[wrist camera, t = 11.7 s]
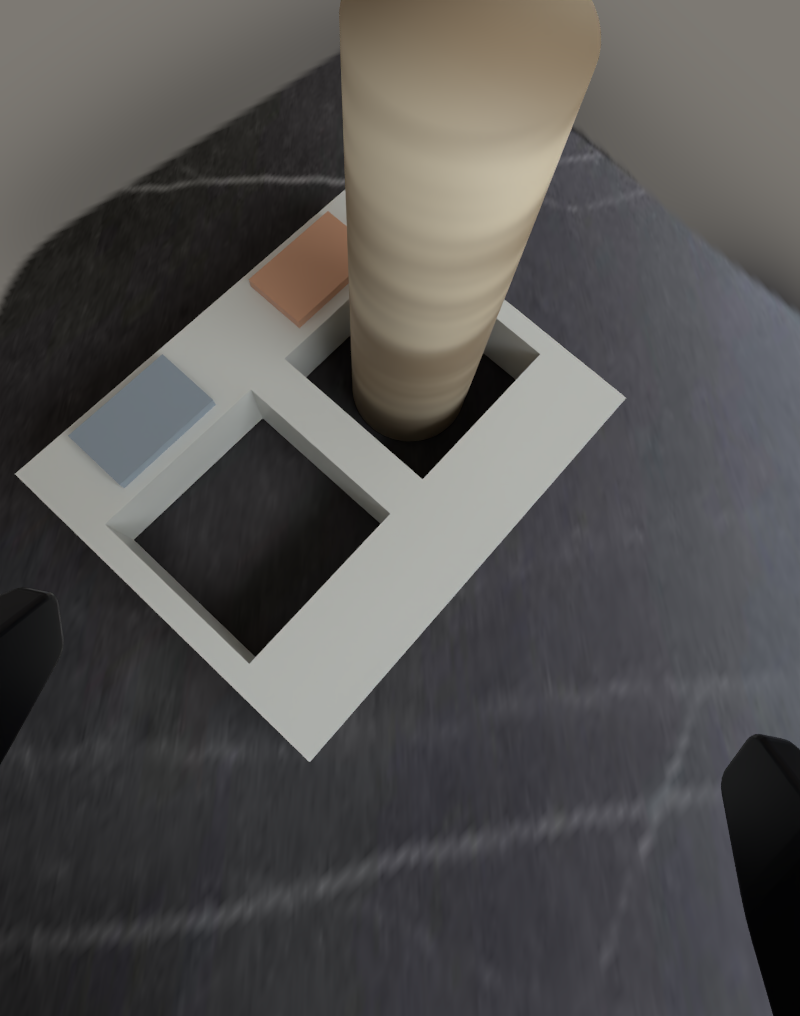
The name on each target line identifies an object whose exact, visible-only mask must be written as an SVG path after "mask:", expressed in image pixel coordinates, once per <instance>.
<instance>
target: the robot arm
mask: <svg viewBox="0 0 800 1016" xmlns="http://www.w3.org/2000/svg"><path fill="white" fill-rule="evenodd" d="M62 648H63V634H62V627H61V620H60V613H59V605H58V601H57V598H56V597H55V596H54V594H52V593H50V592H45V591H40V590H35V589H30V588H17V589H14V590H11V591H9V592H7V593H4V594H2V595H0V764H1V762H2V761H3V759H4V757H5V756H6V754H7V752H8V750H9V749H10V747H11V745H12V743H13V741H14V740H15V738H16V736H17V734H18V732H19V730H20V729H21V727H22V725H23V723H24V721H25V720H26V718H27V716H28V714H29V712H30V711H31V709H32V707H33V705H34V703H35V702H36V700H37V698H38V696H39V694H40V693H41V691H42V689H43V687H44V685H45V684H46V682H47V680H48V678H49V676H50V675H51V673H52V671H53V669H54V667H55V666H56V664H57V662H58V660H59V658H60V655H61V653H62ZM721 791H722V797H723V803H724V808H725V813H726V819H727V824H728V829H729V835H730V840H731V845H732V851H733V856H734V862H735V867H736V872H737V878H738V883H739V888H740V894H741V898H742V903H743V907H744V912H745V917H746V920H747V924H748V928H749V932H750V936H751V940H752V943H753V947H754V950H755V953H756V957H757V960H758V964H759V967H760V971H761V974H762V978H763V981H764V985H765V988H766V992H767V995H768V999H769V1002H770V1006H771V1009H772V1013H773V1016H800V749H799V748H797V747H796V746H795V745H794V744H793V743H791V742H790V741H788V740H785V739H782V738H777V737H772V736H767V735H762V734H755V735H753V736H751V737H749V738H748V739H747V740H746V742H745V743H744V745H743V746H742V747H741V749H740V750H739V752H738V753H737V754H736V756H735V757H734V758H733V760H732V761H731V763H730V764H729V765H728V767H727V768H726V770H725V771H724V774H723V777H722V782H721Z"/></svg>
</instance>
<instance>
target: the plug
mask: <svg viewBox="0 0 800 1016" xmlns="http://www.w3.org/2000/svg"><path fill="white" fill-rule="evenodd" d="M339 15H340V16H339V21H340V51H341V79H342V107H343V135H344V163H345V191H346V219H347V248H348V276H349V304H350V332H351V360H352V388H353V398H354V402H355V405H356V407H357V410H358V412H359V413H360V415H361V416H362V418H363V419H364V420H365V422H366V423H367V424H368V425H369V426H370V427H371V428H373V429H374V430H375V431H377V432H378V433H380V434H382V435H384V436H386V437H389V438H391V439H395V440H399V441H407V442H411V441H422V440H426V439H429V438H432V437H434V436H436V435H438V434H440V433H442V432H443V431H444V430H446V429H447V428H448V427H449V426H450V425H451V424H452V423H453V422H454V420H455V419H456V418H457V416H458V414H459V412H460V410H461V408H462V405H463V403H464V400H465V398H466V395H467V393H468V390H469V387H470V385H471V382H472V380H473V377H474V375H475V372H476V370H477V367H478V365H479V362H480V360H481V357H482V354H483V352H484V349H485V347H486V344H487V342H488V339H489V337H490V334H491V332H492V329H493V326H494V324H495V321H496V319H497V316H498V314H499V311H500V309H501V306H502V304H503V301H504V299H505V296H506V293H507V291H508V288H509V286H510V283H511V281H512V278H513V276H514V273H515V271H516V268H517V266H518V263H519V260H520V258H521V255H522V253H523V250H524V248H525V245H526V243H527V240H528V238H529V235H530V233H531V230H532V227H533V225H534V222H535V220H536V217H537V215H538V212H539V210H540V207H541V205H542V202H543V199H544V197H545V194H546V192H547V189H548V187H549V184H550V182H551V179H552V177H553V174H554V172H555V169H556V166H557V164H558V161H559V159H560V156H561V154H562V151H563V149H564V146H565V144H566V141H567V139H568V136H569V133H570V131H571V128H572V126H573V123H574V121H575V118H576V116H577V113H578V111H579V108H580V105H581V103H582V100H583V98H584V95H585V93H586V90H587V88H588V85H589V82H590V80H591V77H592V75H593V72H594V70H595V67H596V64H597V62H598V59H599V53H600V48H601V30H600V23H599V18H598V15H597V12H596V9H595V6H594V4H593V2H592V0H341V3H340V10H339Z"/></svg>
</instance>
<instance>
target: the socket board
mask: <svg viewBox="0 0 800 1016" xmlns="http://www.w3.org/2000/svg"><path fill="white" fill-rule="evenodd" d="M350 335H351V332H350V304H349V276H348V248H347V219H346V191H345V190H344V191H343V192H342V193H340V194H339V195H338V196H337V197H336V198H335V199H334V200H332V201H331V202H330V203H329V204H328V205H327V206H325V207H324V208H323V209H322V210H321V211H320V212H318V213H317V214H316V215H315V216H314V217H313V218H311V219H310V220H309V221H308V222H307V223H306V224H304V225H303V226H302V227H301V228H300V229H299V230H298V231H296V232H295V233H294V234H293V235H292V236H291V237H289V238H288V239H287V240H286V241H285V242H284V243H282V244H281V245H280V246H279V247H278V248H277V249H275V250H274V251H273V252H272V253H271V254H270V255H269V256H267V257H266V258H265V259H264V260H263V261H262V262H260V263H259V264H258V265H257V266H256V267H255V268H253V269H252V270H251V271H250V272H249V273H248V274H246V275H245V276H244V277H243V278H242V279H241V280H239V281H238V282H237V283H236V284H235V285H234V286H233V287H231V288H230V289H229V290H228V291H227V292H226V293H224V294H223V295H222V296H221V297H220V298H219V299H217V300H216V301H215V302H214V303H213V304H212V305H210V306H209V307H208V308H207V309H206V310H205V311H204V312H202V313H201V314H200V315H199V316H198V317H197V318H195V319H194V320H193V321H192V322H191V323H190V324H188V325H187V326H186V327H185V328H184V329H183V330H181V331H180V332H179V333H178V334H177V335H176V336H174V337H173V338H172V339H171V340H170V341H169V342H168V343H166V344H165V345H164V346H163V347H162V348H161V349H159V350H158V351H157V352H156V353H155V354H154V355H152V356H151V357H150V358H149V359H148V360H147V361H145V362H144V363H143V364H142V365H141V366H140V367H138V368H137V369H136V370H135V371H134V372H133V373H132V374H130V375H129V376H128V377H127V378H126V379H125V380H123V381H122V382H121V383H120V384H119V385H118V386H116V387H115V388H114V389H113V390H112V391H111V392H109V393H108V394H107V395H106V396H105V397H104V398H103V399H101V400H100V401H99V402H98V403H97V404H96V405H94V406H93V407H92V408H91V409H90V410H89V411H87V412H86V413H85V414H84V415H83V416H82V417H80V418H79V419H78V420H77V421H76V422H75V423H73V424H72V425H71V426H70V427H69V428H68V429H67V430H65V431H64V432H63V433H62V434H61V435H60V436H58V437H57V438H56V439H55V440H54V441H53V442H51V443H50V444H49V445H48V446H47V447H46V448H44V449H43V450H42V451H41V452H40V453H39V454H37V455H36V456H35V457H34V458H33V459H32V460H31V461H29V462H28V463H27V464H26V465H25V466H24V467H22V468H21V469H20V470H19V471H18V472H17V473H15V475H16V476H17V477H18V478H19V479H20V480H22V481H23V482H24V483H25V484H26V485H27V486H28V487H29V488H30V489H31V490H32V491H33V492H34V493H35V494H36V495H37V496H38V497H39V498H40V499H41V500H42V501H43V502H44V503H45V504H46V505H47V506H48V507H49V508H50V509H51V510H52V511H53V512H54V513H55V514H56V515H57V516H58V517H59V518H60V519H61V520H62V521H63V522H64V523H65V524H67V525H68V526H69V527H70V528H71V529H72V530H73V531H74V532H75V533H76V534H77V535H78V536H79V537H80V538H81V539H82V540H83V541H84V542H85V543H86V544H87V545H88V546H89V547H90V548H91V549H92V550H93V551H94V552H95V553H96V554H97V555H98V556H99V557H100V558H101V559H102V560H103V561H104V562H105V563H106V564H107V565H108V566H109V567H110V568H111V569H113V570H114V571H115V572H116V573H117V574H118V575H119V576H120V577H121V578H122V579H123V580H124V581H125V582H126V583H127V584H128V585H129V586H130V587H131V588H132V589H133V590H134V591H135V592H136V593H137V594H138V595H139V596H140V597H141V598H142V599H143V600H144V601H145V602H146V603H147V604H148V605H149V606H150V607H151V608H152V609H153V610H154V611H155V612H156V613H158V614H159V615H160V616H161V617H162V618H163V619H164V620H165V621H166V622H167V623H168V624H169V625H170V626H171V627H172V628H173V629H174V630H175V631H176V632H177V633H178V634H179V635H180V636H181V637H182V638H183V639H184V640H185V641H186V642H187V643H188V644H189V645H190V646H191V647H192V648H193V649H194V650H195V651H196V652H197V653H198V654H199V655H200V656H201V657H203V658H204V659H205V660H206V661H207V662H208V663H209V664H210V665H211V666H212V667H213V668H214V669H215V670H216V671H217V672H218V673H219V674H220V675H221V676H222V677H223V678H224V679H225V680H226V681H227V682H228V683H229V684H230V685H231V686H232V687H233V688H234V689H235V690H236V691H237V692H238V693H239V694H240V695H241V696H242V697H243V698H244V699H245V700H246V701H247V702H249V703H250V704H251V705H252V706H253V707H254V708H255V709H256V710H257V711H258V712H259V713H260V714H261V715H262V716H263V717H264V718H265V719H266V720H267V721H268V722H269V723H270V724H271V725H272V726H273V727H274V728H275V729H276V730H277V731H278V732H279V733H280V734H281V735H282V736H283V737H284V738H285V739H286V740H287V741H288V742H289V743H290V744H291V745H292V746H294V747H295V748H296V749H297V750H298V751H299V752H300V753H301V754H302V755H303V756H304V757H305V758H306V759H307V760H308V761H309V762H310V761H311V760H312V759H313V758H314V757H315V755H316V754H317V753H318V752H319V751H320V750H321V748H322V747H323V746H324V745H325V744H326V743H327V742H328V740H329V739H330V738H331V737H332V736H333V735H334V733H335V732H336V731H337V730H338V729H339V728H340V727H341V725H342V724H343V723H344V722H345V721H346V720H347V719H348V717H349V716H350V715H351V714H352V713H353V712H354V710H355V709H356V708H357V707H358V706H359V705H360V704H361V702H362V701H363V700H364V699H365V698H366V697H367V696H368V694H369V693H370V692H371V691H372V690H373V689H374V687H375V686H376V685H377V684H378V683H379V682H380V681H381V679H382V678H383V677H384V676H385V675H386V674H387V672H388V671H389V670H390V669H391V668H392V667H393V666H394V664H395V663H396V662H397V661H398V660H399V659H400V658H401V656H402V655H403V654H404V653H405V652H406V651H407V649H408V648H409V647H410V646H411V645H412V644H413V643H414V641H415V640H416V639H417V638H418V637H419V636H420V634H421V633H422V632H423V631H424V630H425V629H426V628H427V626H428V625H429V624H430V623H431V622H432V621H433V620H434V618H435V617H436V616H437V615H438V614H439V613H440V611H441V610H442V609H443V608H444V607H445V606H446V605H447V603H448V602H449V601H450V600H451V599H452V598H453V597H454V595H455V594H456V593H457V592H458V591H459V590H460V588H461V587H462V586H463V585H464V584H465V583H466V582H467V580H468V579H469V578H470V577H471V576H472V575H473V573H474V572H475V571H476V570H477V569H478V568H479V567H480V565H481V564H482V563H483V562H484V561H485V560H486V559H487V557H488V556H489V555H490V554H491V553H492V552H493V550H494V549H495V548H496V547H497V546H498V545H499V544H500V542H501V541H502V540H503V539H504V538H505V537H506V536H507V534H508V533H509V532H510V531H511V530H512V529H513V527H514V526H515V525H516V524H517V523H518V522H519V521H520V519H521V518H522V517H523V516H524V515H525V514H526V512H527V511H528V510H529V509H530V508H531V507H532V506H533V504H534V503H535V502H536V501H537V500H538V499H539V498H540V496H541V495H542V494H543V493H544V492H545V491H546V489H547V488H548V487H549V486H550V485H551V484H552V483H553V481H554V480H555V479H556V478H557V477H558V476H559V475H560V473H561V472H562V471H563V470H564V469H565V468H566V466H567V465H568V464H569V463H570V462H571V461H572V460H573V458H574V457H575V456H576V455H577V454H578V453H579V451H580V450H581V449H582V448H583V447H584V446H585V445H586V443H587V442H588V441H589V440H590V439H591V438H592V437H593V435H594V434H595V433H596V432H597V431H598V430H599V428H600V427H601V426H602V425H603V424H604V423H605V422H606V420H607V419H608V418H609V417H610V416H611V415H612V413H613V412H614V411H615V410H616V409H617V408H618V407H619V405H620V404H621V403H622V402H623V401H624V400H625V399H626V397H624V396H623V395H622V394H621V393H619V392H618V391H617V390H616V389H614V388H613V387H612V386H611V385H609V384H608V383H607V382H606V381H605V380H603V379H602V378H601V377H600V376H598V375H597V374H596V373H595V372H593V371H592V370H591V369H590V368H588V367H587V366H586V365H585V364H583V363H582V362H581V361H580V360H579V359H577V358H576V357H575V356H574V355H572V354H571V353H570V352H569V351H567V350H566V349H565V348H564V347H562V346H561V345H560V344H559V343H558V342H556V341H555V340H554V339H553V338H551V337H550V336H549V335H548V334H546V333H545V332H544V331H543V330H541V329H540V328H539V327H538V326H537V325H535V324H534V323H533V322H532V321H530V320H529V319H528V318H527V317H525V316H524V315H523V314H522V313H520V312H519V311H518V310H517V309H516V308H514V307H513V306H512V305H511V304H509V303H508V302H507V301H506V300H504V301H503V304H502V306H501V309H500V311H499V314H498V316H497V319H496V321H495V324H494V326H493V329H492V332H491V334H490V337H489V339H488V342H487V344H486V347H485V349H484V352H483V353H484V354H485V355H486V356H488V357H489V358H490V359H491V360H492V361H494V362H495V363H496V364H497V365H498V366H500V367H501V368H502V369H503V370H504V371H506V372H507V373H508V374H509V375H510V376H512V377H513V378H514V379H515V380H516V381H515V382H514V383H513V384H512V385H511V386H510V387H509V388H508V389H507V390H506V391H505V392H504V393H503V394H502V395H501V396H500V398H499V399H498V400H497V401H496V402H495V403H494V404H493V405H492V406H491V407H490V408H489V409H488V410H487V411H486V412H485V414H484V415H483V416H482V417H481V418H480V419H479V420H478V421H477V422H476V423H475V424H474V425H473V426H472V427H471V428H470V429H469V431H468V432H467V433H466V434H465V435H464V436H463V437H462V438H461V439H460V440H459V441H458V442H457V443H456V444H455V445H454V447H453V448H452V449H451V450H450V451H449V452H448V453H447V454H446V455H445V456H444V457H443V458H442V459H441V460H440V461H439V462H438V464H437V465H436V466H435V467H434V468H433V469H432V470H431V471H430V472H429V473H428V474H427V475H426V476H425V477H424V478H423V479H421V478H420V477H419V476H418V475H417V474H416V473H415V472H413V471H412V470H411V469H410V468H409V467H408V466H407V465H405V464H404V463H403V462H402V461H401V460H400V459H399V458H397V457H396V456H395V455H394V454H393V453H392V452H391V451H389V450H388V449H387V448H386V447H385V446H384V445H383V444H381V443H380V442H379V441H378V440H377V439H376V438H375V437H373V436H372V435H371V434H370V433H369V432H368V431H367V430H365V429H364V428H363V427H362V426H361V425H360V424H359V423H357V422H356V421H355V420H354V419H353V418H352V417H351V416H349V415H348V414H347V413H346V412H345V411H344V410H343V409H341V408H340V407H339V406H338V405H337V404H336V403H335V402H333V401H332V400H331V399H330V398H329V397H328V396H327V395H325V394H324V393H323V392H322V391H321V390H320V389H319V388H317V387H316V386H315V385H314V384H313V383H312V382H310V381H309V380H308V379H307V378H306V377H307V376H308V375H309V374H310V373H311V372H312V371H313V370H314V369H315V368H316V367H317V366H318V365H320V364H321V363H322V362H323V361H324V360H325V359H326V358H327V357H328V356H329V355H330V354H331V353H332V352H333V351H334V350H335V349H336V348H338V347H339V346H340V345H341V344H342V343H343V342H344V341H345V340H346V339H347V338H348V337H349V336H350ZM262 418H263V419H264V420H265V421H266V422H267V423H269V424H270V425H271V426H272V427H273V428H274V429H275V430H276V431H277V432H279V433H280V434H281V435H282V436H283V437H284V438H285V439H286V440H287V441H289V442H290V443H291V444H292V445H293V446H294V447H295V448H296V449H298V450H299V451H300V452H301V453H302V454H303V455H304V456H305V457H306V458H308V459H309V460H310V461H311V462H312V463H313V464H314V465H315V466H317V467H318V468H319V469H320V470H321V471H322V472H323V473H324V474H325V475H327V476H328V477H329V478H330V479H331V480H332V481H333V482H334V483H335V484H337V485H338V486H339V487H340V488H341V489H342V490H343V491H344V492H346V493H347V494H348V495H349V496H350V497H351V498H352V499H353V500H354V501H356V502H357V503H358V504H359V505H360V506H361V507H362V508H363V509H365V510H366V511H367V512H368V513H369V514H370V515H371V516H372V517H373V518H375V519H376V520H377V521H378V522H379V523H380V525H379V526H378V527H377V528H376V530H375V531H374V532H373V533H372V534H371V535H370V536H369V537H368V538H367V539H366V540H365V541H364V542H363V543H362V544H361V545H360V547H359V548H358V549H357V550H356V551H355V552H354V553H353V554H352V555H351V556H350V557H349V558H348V559H347V560H346V561H345V563H344V564H343V565H342V566H341V567H340V568H339V569H338V570H337V571H336V572H335V573H334V574H333V575H332V576H331V577H330V578H329V580H328V581H327V582H326V583H325V584H324V585H323V586H322V587H321V588H320V589H319V590H318V591H317V592H316V593H315V594H314V595H313V597H312V598H311V599H310V600H309V601H308V602H307V603H306V604H305V605H304V606H303V607H302V608H301V609H300V610H299V611H298V613H297V614H296V615H295V616H294V617H293V618H292V619H291V620H290V621H289V622H288V623H287V624H286V625H285V626H284V627H283V628H282V630H281V631H280V632H279V633H278V634H277V635H276V636H275V637H274V638H273V639H272V640H271V641H270V642H269V643H268V644H267V646H266V647H265V648H264V649H263V650H262V651H261V652H260V653H259V654H258V655H257V656H256V657H255V656H254V655H253V654H252V653H251V652H250V651H249V650H248V649H247V648H246V647H244V646H243V645H242V644H241V643H240V642H239V641H238V640H237V639H236V638H235V637H234V636H233V635H232V634H231V633H230V632H229V631H228V630H227V629H226V628H225V627H224V626H223V625H222V624H221V623H220V622H219V621H218V620H216V619H215V618H214V617H213V616H212V615H211V614H210V613H209V612H208V611H207V610H206V609H205V608H204V607H203V606H202V605H201V604H200V603H199V602H198V601H197V600H196V599H195V598H194V597H193V596H192V595H191V594H189V593H188V592H187V591H186V590H185V589H184V588H183V587H182V586H181V585H180V584H179V583H178V582H177V581H176V580H175V579H174V578H173V577H172V576H171V575H170V574H169V573H168V572H167V571H166V570H165V569H164V568H163V567H161V566H160V565H159V564H158V563H157V562H156V561H155V560H154V559H153V558H152V557H151V556H150V555H149V554H148V553H147V552H146V551H145V550H144V549H143V548H142V547H141V546H140V545H139V544H138V543H137V542H136V541H134V539H135V538H136V537H137V536H138V535H139V534H140V533H141V532H143V531H144V530H145V529H146V528H147V527H148V526H149V525H150V524H151V523H152V522H153V521H154V520H155V519H156V518H157V517H158V516H159V515H161V514H162V513H163V512H164V511H165V510H166V509H167V508H168V507H169V506H170V505H171V504H172V503H173V502H174V501H175V500H176V499H178V498H179V497H180V496H181V495H182V494H183V493H184V492H185V491H186V490H187V489H188V488H189V487H190V486H191V485H192V484H193V483H194V482H196V481H197V480H198V479H199V478H200V477H201V476H202V475H203V474H204V473H205V472H206V471H207V470H208V469H209V468H210V467H211V466H212V465H214V464H215V463H216V462H217V461H218V460H219V459H220V458H221V457H222V456H223V455H224V454H225V453H226V452H227V451H228V450H229V449H230V448H232V447H233V446H234V445H235V444H236V443H237V442H238V441H239V440H240V439H241V438H242V437H243V436H244V435H245V434H246V433H247V432H249V431H250V430H251V429H252V428H253V427H254V426H255V425H256V424H257V423H258V422H259V421H260V420H261V419H262Z"/></svg>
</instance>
